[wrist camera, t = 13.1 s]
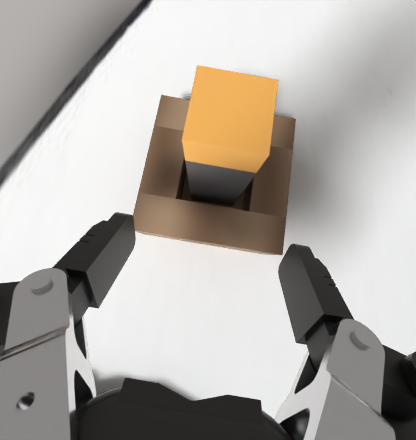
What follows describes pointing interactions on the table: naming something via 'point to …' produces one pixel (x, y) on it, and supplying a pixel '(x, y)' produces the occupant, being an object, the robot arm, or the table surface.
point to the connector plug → (227, 132)
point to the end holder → (204, 211)
